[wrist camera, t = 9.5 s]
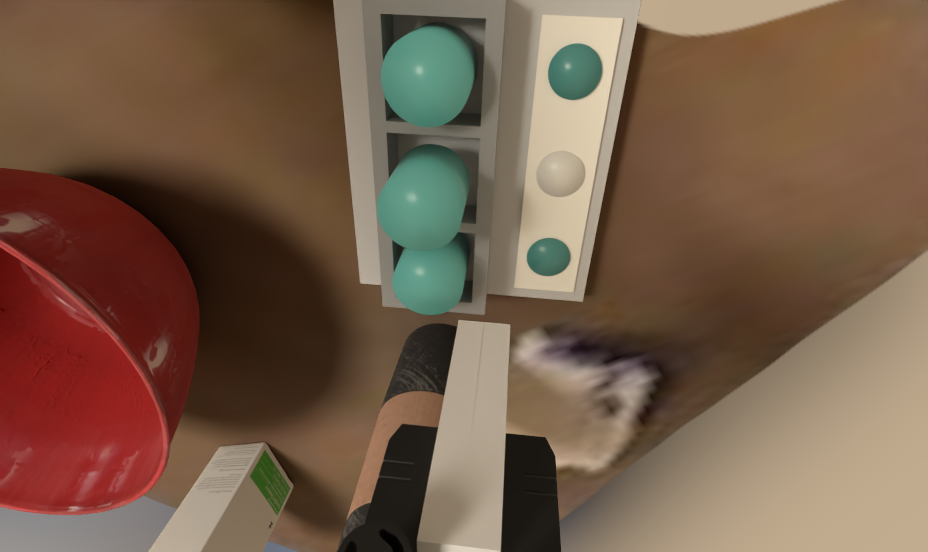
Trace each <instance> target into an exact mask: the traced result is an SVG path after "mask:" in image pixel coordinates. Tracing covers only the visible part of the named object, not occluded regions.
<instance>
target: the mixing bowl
mask: <svg viewBox="0 0 928 552" xmlns="http://www.w3.org/2000/svg"><path fill="white" fill-rule="evenodd" d="M199 326H200V312H199V305H198V298H197V293H196V289H195V286H194V283H193V281H192V278H191V275H190V273H189V270H188V268H187V266H186V264H185V263H184V261H183V260H182V258H181V257H180V254H179V253H178V251H177V250H176V249H175V247H174V246H173V245H172V244H171V243H170V241H169V240H168V239H167V238H166V237H165V236H164V234H163V233H162V232H161V231H160V230H159V229H158V228H157V227H156V226H154V225H153V224H152V223H151V222H150V221H149V220H148V219H146V218H145V217H144V216H143V215H142V214H140V213H139V212H138V211H136V210H135V209H133V208H132V207H130V206H129V205H127V204H125V203H124V202H122V201H121V200H119V199H117V198H115V197H114V196H112V195H109V194H107V193H105V192H103V191H101V190H99V189H97V188H95V187H92V186H90V185H87V184H85V183H81V182H78V181H75V180H71V179H68V178H64V177H61V176H56V175H52V174H46V173H39V172H32V171H24V170H16V169H6V168H0V507H4V508H8V509H14V510H19V511H24V512H32V513H41V514H55V515H81V514H91V513H98V512H104V511H109V510H112V509H116V508H119V507H122V506H124V505H127V504H129V503H131V502H133V501H135V500H136V499H138V498H140V497H141V496H143V495H144V494H145V493H147V492H148V491H149V490H151V489H152V487H153V486H154V485H155V484H156V483H157V481H158V480H159V479H160V477H161V476H162V474H163V472H164V470H165V468H166V465H167V462H168V458H169V452H170V444H171V441H172V439H173V436H174V434H175V431H176V429H177V426H178V424H179V421H180V418H181V416H182V413H183V409H184V406H185V403H186V400H187V397H188V393H189V389H190V386H191V382H192V378H193V372H194V366H195V361H196V355H197V348H198V340H199Z"/></svg>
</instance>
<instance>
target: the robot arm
mask: <svg viewBox="0 0 928 552" xmlns="http://www.w3.org/2000/svg"><path fill="white" fill-rule="evenodd" d="M509 343H510V324H499V323H487V322H476V321H465V320H459V321H458V327H457V332H456V337H455V342H454V348H453V353H452V358H451V363H450V369H449V374H448V379H447V384H446V390H445V395H444V400H443V405H442V411H441V416H440V421H439V426H438V427H429V426H420V425H410V424H401V426H400V427H399V428H398V429H397V431H396V432H395V433H394V434H393V435H392V437H391V438H390V439H389V441H388V445H387V448H386V452H385V455H384V459H383V463H382V465H381V469H380V472H379V478H378V479H377V483H376V486H375V490H374V493H373V496H372V500H371V503H370V507H369V510H368V514H367V517H366V521H365V524H364V525H361V526H359V527H357V528H355V529H354V530H353V531H352V532H351V533H350V534H349V535H347V536H346V537H345V538H344V540H343V542H342V544H341V545H340V547H339V549H338V551H337V552H561V543H560V526H559V510H558V498H557V481H556V461H555V455H554V453H553V451H552V449H551V447H550V445H549V443H548V441H547V439H546V438H545V437H536V436H526V435H517V434H507V433H506V414H507V390H508V367H509Z"/></svg>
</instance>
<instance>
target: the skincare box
mask: <svg viewBox="0 0 928 552" xmlns="http://www.w3.org/2000/svg"><path fill="white" fill-rule="evenodd" d="M292 489H293V484H292V482H291V481H290V480H289V478H288V477H287V475H286V473H285V472H284V470H283V469H282V467H281V466H280V464H279V462H278V461H277V459H276V458H275V456H274V455H273V453H272V452H271V450H270V448H269V447H268V445H267V444H266V443H265V442H259V443H250V444H240V445H230V446H221V447H219V449H218V450H217V452H216V453H215V454H214V456H213V457H212V459H211V460H210V462H209V463H208V465H207V466H206V468H205V469H204V471H203V472H202V474H201V475H200V477H199V478H198V480H197V481H196V482H195V484H194V485H193V487H192V488H191V490H190V491H189V493H188V494H187V496H186V497H185V499H184V500H183V502H182V503H181V505H180V506H179V508H178V509H177V511H176V512H175V513H174V515H173V516H172V518H171V519H170V521H169V522H168V524H167V525H166V527H165V528H164V530H163V531H162V532H161V534H160V535H159V537H158V538H157V540H156V541H155V543H154V544H153V546H152V547H151V549H150V550H149V552H263V550H264V548H265V545H266V544H267V542H268V539H269V537H270V535H271V533H272V531H273V529H274V527H275V525H276V523H277V521H278V519H279V517H280V514H281V512H282V510H283V508H284V506H285V504H286V502H287V500H288V498H289V496H290V494H291V492H292Z"/></svg>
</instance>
